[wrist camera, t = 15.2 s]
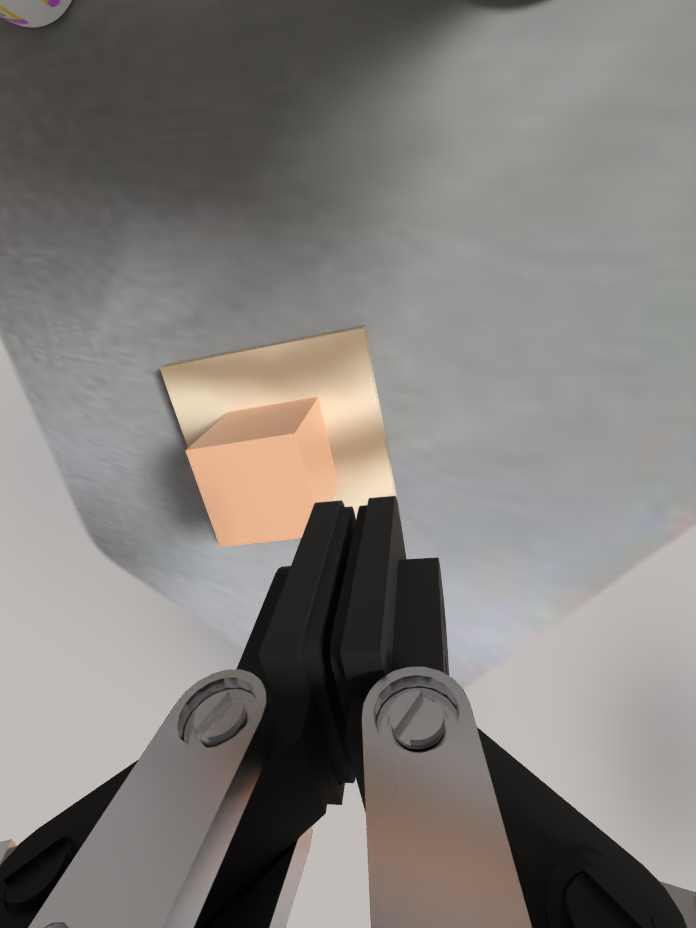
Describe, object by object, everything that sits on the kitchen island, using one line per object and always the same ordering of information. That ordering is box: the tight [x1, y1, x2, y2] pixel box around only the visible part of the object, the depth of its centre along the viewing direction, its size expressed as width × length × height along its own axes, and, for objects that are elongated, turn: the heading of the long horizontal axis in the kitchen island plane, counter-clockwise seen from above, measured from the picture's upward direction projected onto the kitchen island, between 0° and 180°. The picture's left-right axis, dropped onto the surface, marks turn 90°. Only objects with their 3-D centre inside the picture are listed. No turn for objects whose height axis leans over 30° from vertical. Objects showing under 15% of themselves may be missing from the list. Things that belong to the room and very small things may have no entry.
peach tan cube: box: [185, 397, 338, 547], centre depth 31 cm, size 6×6×7 cm
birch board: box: [160, 325, 400, 518], centre depth 34 cm, size 14×14×1 cm
